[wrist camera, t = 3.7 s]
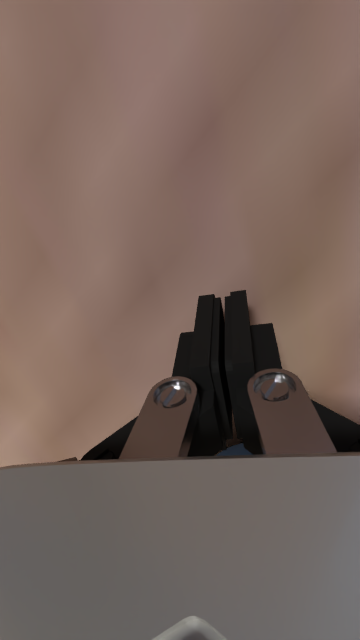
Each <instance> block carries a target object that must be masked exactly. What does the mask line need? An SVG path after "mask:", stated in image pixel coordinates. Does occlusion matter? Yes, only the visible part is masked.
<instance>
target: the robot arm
mask: <svg viewBox="0 0 360 640" xmlns="http://www.w3.org/2000/svg"><path fill="white" fill-rule="evenodd" d="M230 295H231V296H227V297H225V321H224V315H223V309H222V303H221V298H220V297H219V298H215V295H214V294H211V295H204V296H199V298H198V306H197V313H196V320H195V327H194V332H185V333H181V334H180V338H179V343H178V348H177V353H176V358H175V363H174V368H173V373H172V377H170V378H166V379H164V380H162V381H160V382H158V383H157V384H156V385H154V386H153V387H152V389H151V390H150V392H149V394H148V396H147V398H146V400H145V402H144V405H143V407H142V409H141V411H140V413H139V416H137V417H136V418H135V419H133V420H132V421H130V422H129V423H127V424H126V425H125V426H123V427H122V428H120V429H119V430H118V431H116V432H115V433H113V434H112V435H111V436H109V437H108V438H106V439H105V440H104V441H102V442H101V443H99V444H98V445H97V446H95V447H94V448H92V449H91V450H90V451H89V452H87V453H86V454H85V455H84V456H83V458H82V459H81V460H77V458H76V457H73V458H69V459H65V460H61V461H57V462H47V463H33V464H21V465H12V466H5V467H0V640H360V425H358V424H356V423H354V422H353V421H351V420H349V419H347V418H345V417H343V416H341V415H339V414H337V413H336V412H334V411H332V410H330V409H328V408H326V407H324V406H322V405H320V404H318V403H317V402H315V401H313V400H311V399H310V398H309V396H308V394H307V392H306V390H305V388H304V386H303V384H302V382H301V380H300V379H299V378H298V377H297V376H296V375H295V374H293V373H292V372H289V371H287V370H284V369H282V366H281V362H280V357H279V352H278V347H277V343H276V338H275V333H274V328H273V324H272V323H269V324H259V325H250V322H249V313H248V305H247V296H246V290H242V291H235V292H230ZM232 410H233V415H234V421H235V427H236V432H237V438H238V439H243V445H244V448H245V449H246V450H248V451H249V452H250V453H252V454H253V455H229V456H214V455H216V454H217V453H218V452H219V451H220V450H226V439H232V438H233V431H232Z"/></svg>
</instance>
